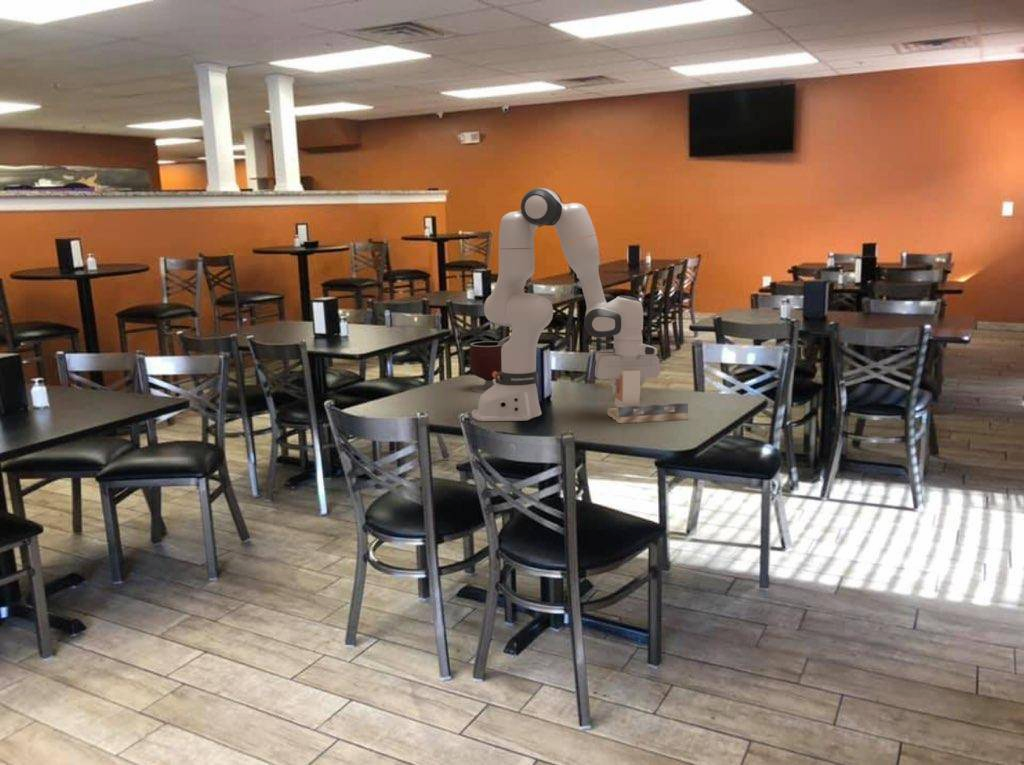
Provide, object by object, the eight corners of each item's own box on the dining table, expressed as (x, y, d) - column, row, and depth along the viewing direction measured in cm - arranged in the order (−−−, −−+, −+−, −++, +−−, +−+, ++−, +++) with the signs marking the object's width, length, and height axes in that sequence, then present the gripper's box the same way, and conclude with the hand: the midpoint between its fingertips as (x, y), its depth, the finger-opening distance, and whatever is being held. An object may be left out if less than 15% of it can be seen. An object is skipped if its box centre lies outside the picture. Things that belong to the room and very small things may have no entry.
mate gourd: (468, 393, 304) (467, 338, 300) (472, 386, 317) (470, 333, 313) (511, 393, 303) (510, 338, 299) (513, 385, 317) (512, 333, 313)
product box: (613, 404, 266) (614, 367, 264) (631, 403, 267) (632, 366, 265) (621, 409, 258) (622, 371, 256) (639, 409, 259) (640, 370, 257)
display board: (619, 423, 255) (619, 407, 254) (607, 414, 267) (607, 399, 266) (687, 419, 260) (688, 403, 259) (672, 410, 271) (673, 395, 270)
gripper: (598, 350, 254) (597, 395, 257) (662, 349, 258) (661, 393, 260) (592, 347, 260) (591, 391, 263) (655, 346, 264) (654, 389, 267)
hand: (626, 392), depth 262 cm, fingers closed on product box, 6 cm apart
